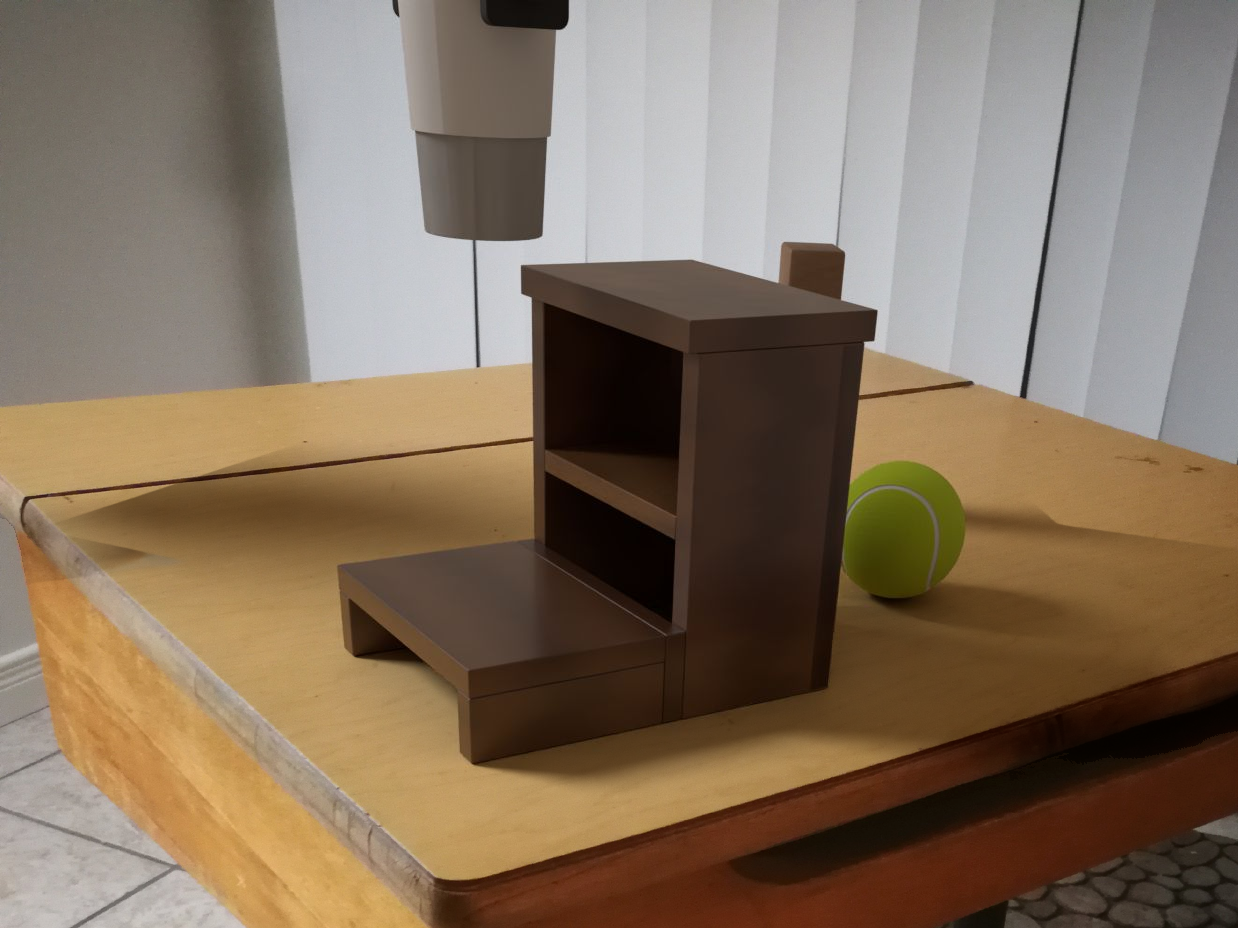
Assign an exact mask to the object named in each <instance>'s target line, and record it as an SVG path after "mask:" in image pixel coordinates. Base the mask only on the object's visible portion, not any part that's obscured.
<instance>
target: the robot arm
mask: <svg viewBox="0 0 1238 928" xmlns="http://www.w3.org/2000/svg"><path fill="white" fill-rule="evenodd" d="M391 1H392V10H393V12H394V15H396V17H397V18H399V19H400V17H399V7H398V0H391ZM480 13H481V17H482V20H483V21H484V22H485V23H486V24H487V25H489V26H498V27H515V28H532V29H549V30H556V31H562V30H564V29H566V27H567V26H568V23H569V20H570V0H480Z"/></svg>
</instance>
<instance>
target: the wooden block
mask: <svg viewBox="0 0 1238 928" xmlns="http://www.w3.org/2000/svg"><path fill="white" fill-rule="evenodd" d="M779 258H780V259H779V270H778V282H777V283H780V284H784V285H787V286H791V287H795V288H798V289H802V290H806V291H810V292H813V293H817V294H821V295H824V296H828V297H832V298H835V299H839V300H842V296H843V295H842V293H843V283H844V275H845V264H846V263H845V261H846V251H845V250H842V249H841V248H840V247H838V246H837V245H835V244H834V243H827V242H825V243H824V242H802V241H784V242H782V243H781V245H780V257H779Z"/></svg>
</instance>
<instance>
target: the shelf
mask: <svg viewBox="0 0 1238 928" xmlns="http://www.w3.org/2000/svg"><path fill="white" fill-rule="evenodd" d="M520 294H521V295H523V296H526V297H529V298H531V370H532V371H531V372H532V375H531V376H532V382H531V383H532V458H533V459H532V462H533V463H532V465H533V466H532V467H533V468H532V469H533V470H532V471H533V473H532V474H533V475H532V476H533V538H527V539H526V538H525V539H519V540H511V541H503V542H502V541H501V542H495V543H488V544H481V545H474V546H473V545H472V546H465V547H459V548H451V549H445V550H444V549H443V550H435V551H430V552H429V551H428V552H422V553H414V554H406V555H399V556H392V557H384V558H376V559H368V560H362V561H354V562H346V563H339V564H336V569H337V581H338V590H339V602H340V603H339V604H340V613H341V625H342V637H343V638H342V639H343V646H344V649H345V650H346V651H348V653H350V654H351V655H352V656H361V655H367V654H374V653H379V652H385V651H390V650H397V649H402V648H403V649H404V648H408V649H409V650H410V651H412V652H413V653H414V654H415V655H416V656H418V657H419V658H420V659H422V661H423V662H425V663H426V664H427V665H428V666H429V667H430V668H432V669H433V670H434V671H435V672H437V674H439V675H440V676H441V677H443V679H444V680H446V681H448V683H450V684H451V685H452V686H453V687H454V688H456V689H457V690H456V693H457V695H456V696H457V720H458V741H459V754H461V756H462V757H464V758H465V759H466V760H467V761H468V762H469V763H470V764H477V763H481V762H482V763H483V762H486V761H491V760H496V759H500V758H505V757H509V756H514V755H519V754H524V753H528V752H534V751H538V750H543V749H547V748H551V747H557V746H561V745H566V744H570V743H575V742H580V741H585V740H589V739H594V738H599V737H604V736H607V735H612V734H613V735H614V734H617V733H621V732H626V731H630V730H631V731H632V730H636V729H641V728H645V727H650V726H655V725H659V724H662V723H669V722H674V721H678V720H681V719H682V720H683V719H687V718H688V719H689V718H693V717H697V716H701V715H702V716H703V715H706V714H712V713H715V712H721V711H725V710H729V709H735V708H740V707H744V706H749V705H753V704H758V703H763V702H767V701H768V702H769V701H773V700H777V699H781V698H786V697H790V696H791V697H792V696H795V695H800V694H801V695H802V694H805V693H809V692H814V691H820V690H824V689H828V688H829V685H830V675H831V668H832V667H831V665H832V657H833V656H832V655H833V647H834V646H833V645H834V638H835V628H836V619H837V609H838V599H839V590H840V581H841V580H840V579H841V570H842V568H841V563H842V553H843V544H844V534H845V525H846V515H847V506H848V496H849V487H850V484H851V477H852V469H853V468H852V466H853V458H854V448H855V440H856V429H857V420H858V412H859V411H858V410H859V402H860V401H859V400H860V391H861V382H862V373H863V363H864V354H865V353H864V352H865V343H869V342H870V343H871V342H875V340H876V332H877V322H878V312H879V310H878V309H875V308H873V307H872V308H871V307H869V306H864V305H861V304H857V303H853V302H850V301H845V300H842V299H841V300H839V299H835V298H832V297H828V296H824V295H821V294H817V293H813V292H810V291H806V290H802V289H798V288H795V287H791V286H787V285H784V284H780V283H778V282H776V281H773V280H769V279H765V278H762V277H758V276H754V275H750V274H746V273H743V272H740V271H736V270H732V269H729V268H724V267H720V266H717V265H714V264H711V263H706V262H703V261H699V260H695V259H667V260H665V259H664V260H663V259H662V260H637V261H636V260H634V261H605V262H604V261H603V262H600V261H599V262H571V263H570V262H569V263H568V262H567V263H540V264H539V263H537V264H536V263H535V264H521V265H520ZM660 605H663V606H665V607H666V608H668V609H669V610H671V611H672V614H671V615H672V616H671V617H672V618H671V622H670V621H668V620H667V619H666V618H664V617H662V616H661V615H659V614H658V613H656V612H654V611H652V610H651V609H649V608H648V607H654V606H660Z"/></svg>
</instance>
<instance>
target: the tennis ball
mask: <svg viewBox="0 0 1238 928" xmlns="http://www.w3.org/2000/svg"><path fill="white" fill-rule="evenodd" d="M965 537H966V517H965V511H964V507H963V504H962V501H961V499H960V496H959V495H958V493H957V491H956V489H955V488H954V487H953V485H952V484H951V483H950V482H949V480H948V479H947V478H946V477H945V476H943V475H942V474H941V473H940V472H938V471H937V470H935V469H934V468H932V467H931V466H928V465H925V464H923V463H920V462H916V461H910V460H892V461H887V462H883V463H880V464H876V465H875V466H872V467H871V468H868V469H867V470H865V471H864V472H862V473H860V474H859V475H858V476H857V477H856V478H854V479H853V481H852V482H850V487H849V496H848V506H847V515H846V525H845V534H844V544H843V553H842V563H841V570H842V571H843V573H844V575H846V576H847V577H848V578H849V579H850V581H851V582H852V583H853V584H855V585H857V587H859V588H860V589H862V590H863V591H866V592H867V593H869V594H871V595H874V596H877V597H882V598H885V599H886V598H887V599H907V598H912V597H915V596H919V595H922V594H924V593H926V592H928V591H929V590H930V589H933V588H935V587H937V586H938V585H939V584H941V582H942V581H944V579H945V578H947V576H948V575H949V574H950V573H951V571H952V570H953V568H954V567H955V565H956V564H957V562H958V560H959V557H960V555H961V553H962V549H963V547H964V543H965Z"/></svg>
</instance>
